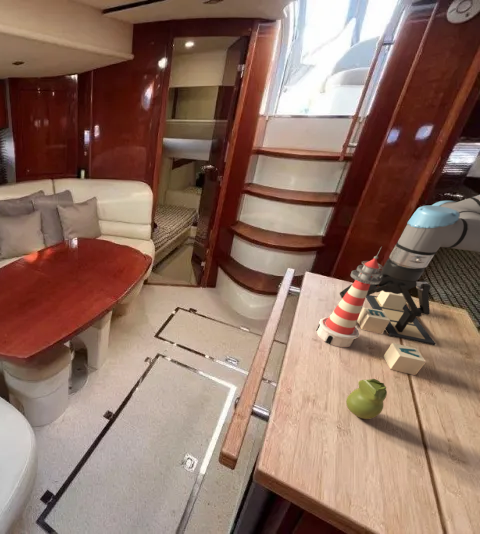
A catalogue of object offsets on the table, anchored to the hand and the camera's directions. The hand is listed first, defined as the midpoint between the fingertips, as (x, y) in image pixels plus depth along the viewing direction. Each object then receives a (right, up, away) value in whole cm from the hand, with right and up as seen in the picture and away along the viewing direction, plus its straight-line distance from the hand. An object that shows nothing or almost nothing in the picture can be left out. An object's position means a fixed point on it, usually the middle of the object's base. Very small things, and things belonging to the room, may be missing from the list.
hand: (369, 323), depth 93 cm
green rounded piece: (-26, -16, -24) cm, 39 cm away
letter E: (0, -1, +1) cm, 1 cm away
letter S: (+15, +5, +9) cm, 18 cm away
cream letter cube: (-5, -9, -13) cm, 16 cm away
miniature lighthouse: (-14, -4, -3) cm, 15 cm away
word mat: (+12, +1, +4) cm, 12 cm away
